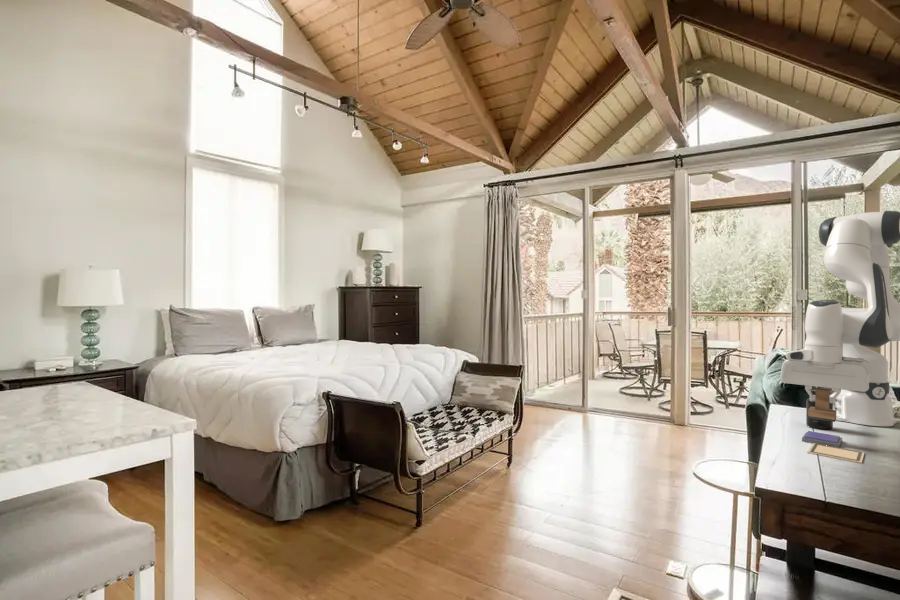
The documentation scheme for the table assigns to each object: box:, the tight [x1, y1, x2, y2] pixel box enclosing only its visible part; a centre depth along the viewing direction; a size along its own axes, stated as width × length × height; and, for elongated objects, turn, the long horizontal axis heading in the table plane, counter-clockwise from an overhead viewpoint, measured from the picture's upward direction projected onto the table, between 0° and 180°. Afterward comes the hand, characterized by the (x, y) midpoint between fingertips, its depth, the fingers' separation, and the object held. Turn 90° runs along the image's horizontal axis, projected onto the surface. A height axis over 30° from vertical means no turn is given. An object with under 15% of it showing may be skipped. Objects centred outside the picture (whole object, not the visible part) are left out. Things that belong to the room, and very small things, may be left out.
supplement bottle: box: [805, 389, 834, 431], centre depth 151 cm, size 7×7×12 cm
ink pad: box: [801, 430, 843, 448], centre depth 136 cm, size 9×8×2 cm
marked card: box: [807, 443, 865, 464], centre depth 125 cm, size 11×11×1 cm
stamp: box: [808, 387, 837, 423], centre depth 136 cm, size 5×6×9 cm
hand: (822, 402), depth 136 cm, fingers closed on stamp, 3 cm apart
